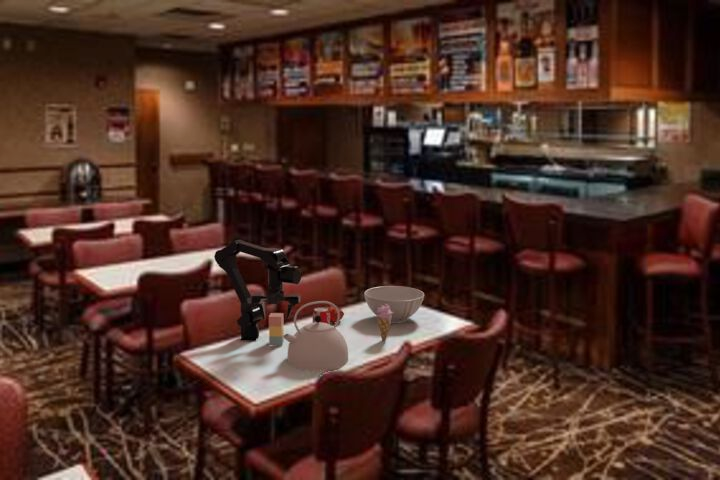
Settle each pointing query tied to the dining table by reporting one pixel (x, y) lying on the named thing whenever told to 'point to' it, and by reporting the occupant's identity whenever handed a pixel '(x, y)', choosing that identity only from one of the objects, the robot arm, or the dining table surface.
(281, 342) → the teal base brick
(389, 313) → the ice cream cone
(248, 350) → the dining table surface
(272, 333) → the mustard brick
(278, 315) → the terracotta brick
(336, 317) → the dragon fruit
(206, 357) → the dining table surface
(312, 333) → the kettle
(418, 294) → the decorative bowl
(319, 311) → the soda can
